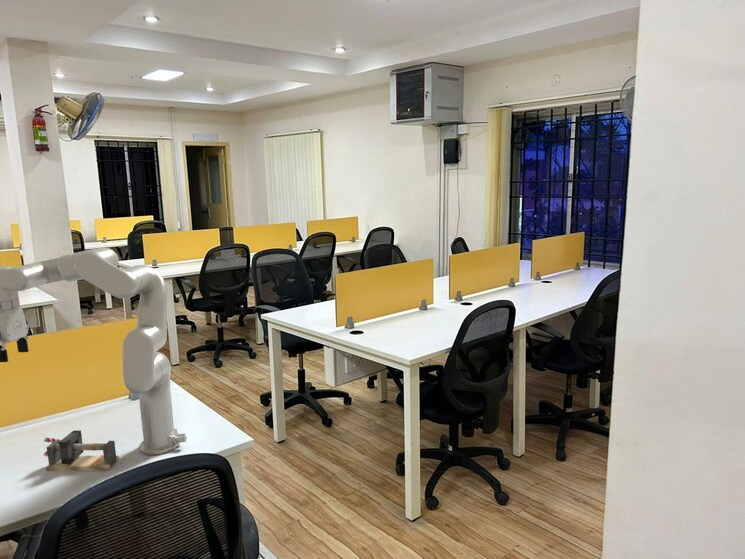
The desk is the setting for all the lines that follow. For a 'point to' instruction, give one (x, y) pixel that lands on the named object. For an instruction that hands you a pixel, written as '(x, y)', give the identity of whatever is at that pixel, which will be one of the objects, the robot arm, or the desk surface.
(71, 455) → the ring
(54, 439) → the candy cane
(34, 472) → the desk surface
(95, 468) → the rail fixture
